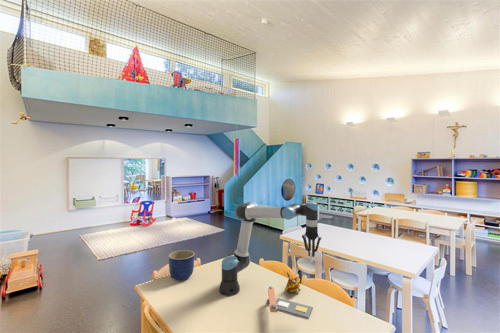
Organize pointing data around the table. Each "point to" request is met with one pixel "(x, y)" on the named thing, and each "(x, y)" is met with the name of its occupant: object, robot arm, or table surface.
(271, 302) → the swing arm
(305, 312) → the label board
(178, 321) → the table surface
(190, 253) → the planter
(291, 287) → the toy
